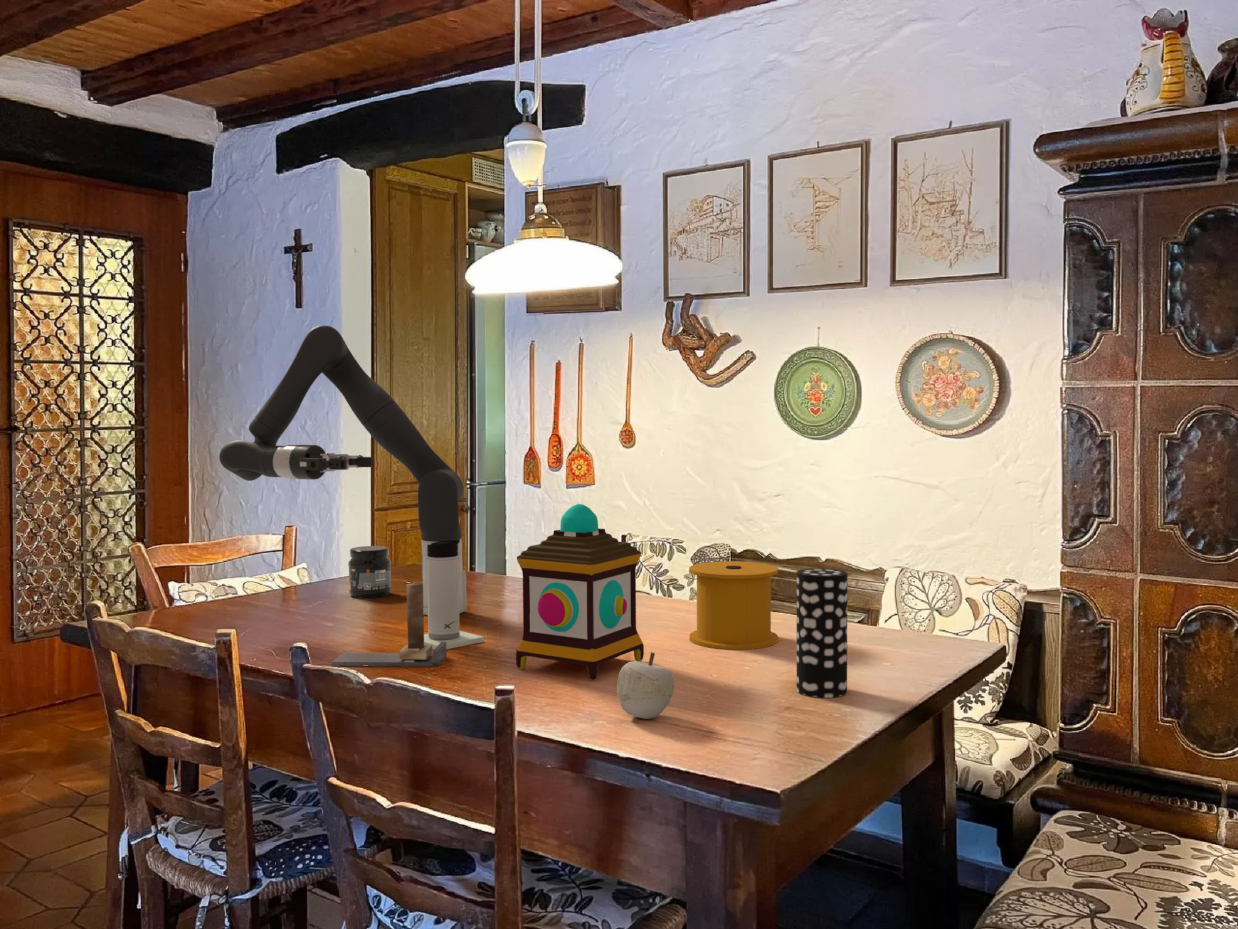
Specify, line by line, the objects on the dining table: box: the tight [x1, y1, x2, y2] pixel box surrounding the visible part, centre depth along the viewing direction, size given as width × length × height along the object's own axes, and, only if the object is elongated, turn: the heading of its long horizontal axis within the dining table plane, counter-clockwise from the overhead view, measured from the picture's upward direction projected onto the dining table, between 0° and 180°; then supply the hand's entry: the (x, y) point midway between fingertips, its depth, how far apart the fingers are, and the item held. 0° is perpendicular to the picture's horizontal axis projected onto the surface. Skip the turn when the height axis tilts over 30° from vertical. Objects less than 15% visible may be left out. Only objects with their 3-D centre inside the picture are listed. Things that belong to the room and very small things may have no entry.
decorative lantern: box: [515, 503, 645, 682], centre depth 193 cm, size 20×20×30 cm
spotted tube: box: [796, 567, 849, 699], centre depth 175 cm, size 8×8×20 cm
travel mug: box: [427, 539, 461, 640], centre depth 213 cm, size 6×7×20 cm
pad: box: [424, 630, 485, 650], centre depth 214 cm, size 11×11×1 cm
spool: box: [688, 560, 779, 650], centre depth 214 cm, size 18×18×15 cm
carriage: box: [398, 582, 433, 659], centre depth 197 cm, size 5×5×14 cm
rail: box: [331, 642, 448, 668], centre depth 198 cm, size 20×7×3 cm, turn 87°
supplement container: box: [347, 545, 392, 599], centre depth 267 cm, size 10×10×12 cm
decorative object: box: [616, 651, 675, 720], centre depth 161 cm, size 9×9×10 cm
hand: (359, 463), depth 222 cm, fingers open, 8 cm apart
